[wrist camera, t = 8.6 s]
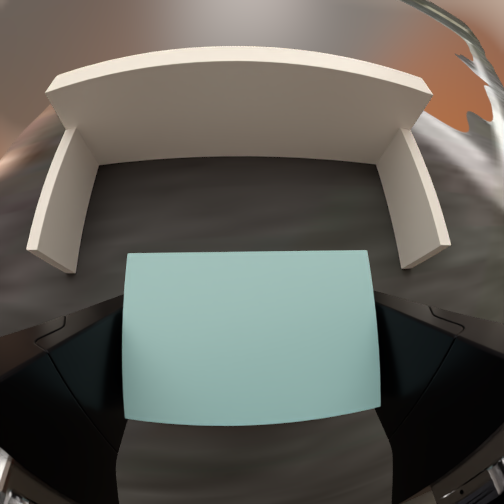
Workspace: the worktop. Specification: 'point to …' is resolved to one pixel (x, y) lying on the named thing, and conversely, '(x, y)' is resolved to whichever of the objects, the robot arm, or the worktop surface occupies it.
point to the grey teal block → (248, 337)
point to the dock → (237, 129)
